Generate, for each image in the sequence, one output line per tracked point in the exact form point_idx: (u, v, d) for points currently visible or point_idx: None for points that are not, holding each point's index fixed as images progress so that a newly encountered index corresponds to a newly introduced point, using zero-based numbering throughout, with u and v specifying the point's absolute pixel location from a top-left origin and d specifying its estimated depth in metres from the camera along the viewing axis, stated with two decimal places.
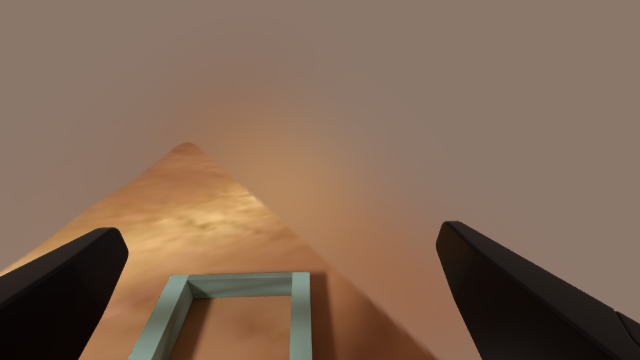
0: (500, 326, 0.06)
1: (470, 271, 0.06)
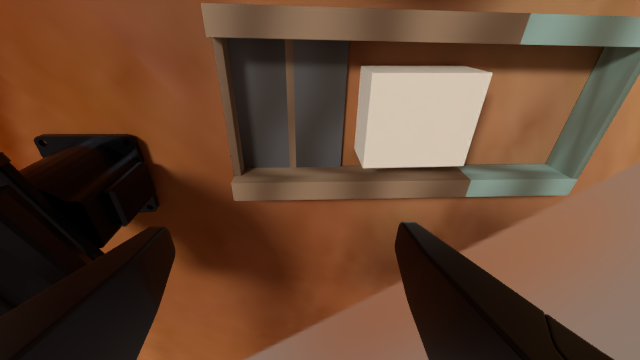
0: (442, 329, 0.06)
1: (419, 273, 0.06)
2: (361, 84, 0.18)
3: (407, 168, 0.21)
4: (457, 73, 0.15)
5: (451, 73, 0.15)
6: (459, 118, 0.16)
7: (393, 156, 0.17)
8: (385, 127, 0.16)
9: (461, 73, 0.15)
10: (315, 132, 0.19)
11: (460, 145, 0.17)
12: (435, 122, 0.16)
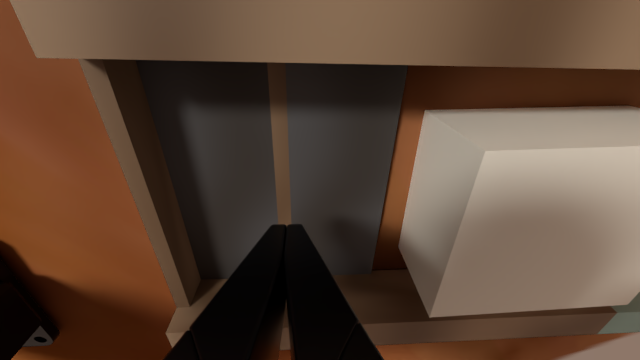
0: (290, 336, 0.05)
1: (285, 277, 0.06)
2: (426, 148, 0.09)
3: None
4: None
5: None
6: None
7: (496, 297, 0.08)
8: (490, 254, 0.07)
9: None
10: (329, 225, 0.10)
11: (636, 275, 0.08)
12: (602, 240, 0.07)
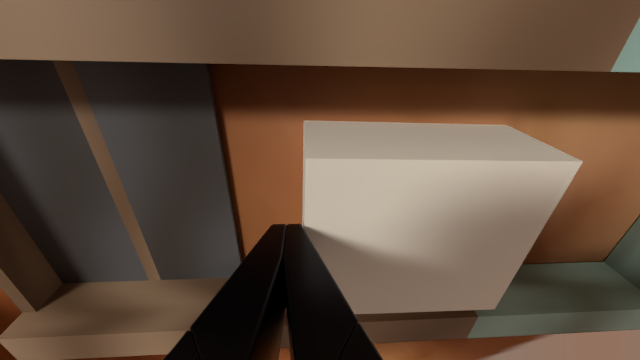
0: (289, 336, 0.05)
1: (284, 277, 0.06)
2: (303, 154, 0.09)
3: None
4: (504, 161, 0.07)
5: (490, 161, 0.07)
6: (497, 241, 0.08)
7: (362, 298, 0.09)
8: (343, 256, 0.08)
9: (513, 161, 0.07)
10: (180, 227, 0.10)
11: (493, 281, 0.09)
12: (448, 247, 0.08)
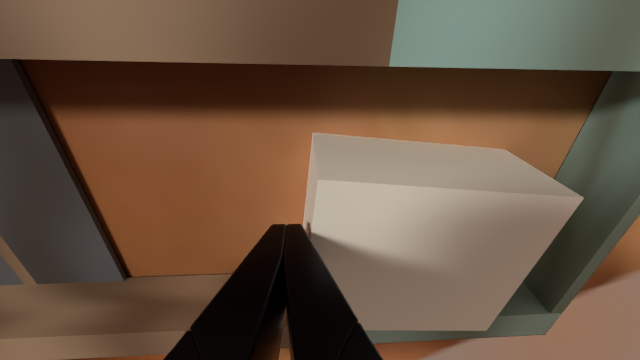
0: (290, 336, 0.05)
1: (285, 277, 0.06)
2: (310, 168, 0.09)
3: None
4: (510, 193, 0.07)
5: (497, 192, 0.07)
6: (496, 267, 0.08)
7: (360, 315, 0.09)
8: (344, 274, 0.08)
9: (519, 194, 0.07)
10: (40, 230, 0.10)
11: (487, 304, 0.09)
12: (448, 271, 0.08)
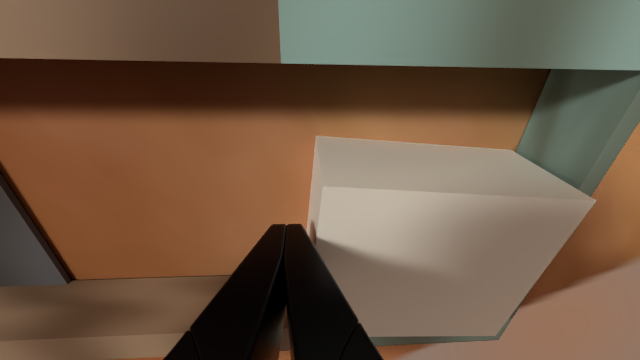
0: None
1: (285, 277, 0.06)
2: (313, 173, 0.09)
3: (195, 286, 0.11)
4: (520, 197, 0.07)
5: (507, 196, 0.07)
6: (506, 272, 0.08)
7: (366, 321, 0.09)
8: (351, 281, 0.08)
9: (529, 197, 0.07)
10: None
11: (497, 310, 0.09)
12: (456, 276, 0.08)
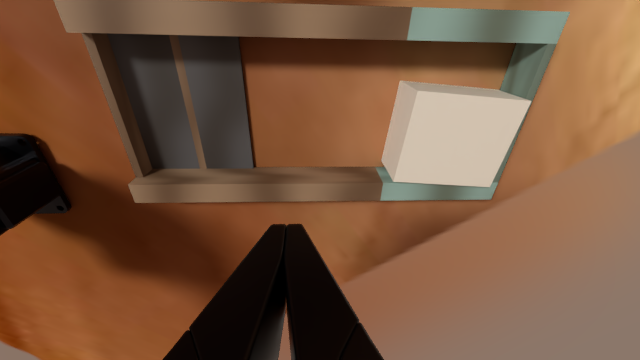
0: (290, 336, 0.05)
1: (285, 277, 0.06)
2: (399, 99, 0.18)
3: (323, 170, 0.20)
4: (498, 98, 0.16)
5: (492, 98, 0.15)
6: (493, 141, 0.17)
7: (425, 172, 0.18)
8: (421, 144, 0.17)
9: (502, 98, 0.16)
10: (220, 132, 0.19)
11: (490, 167, 0.18)
12: (470, 143, 0.17)
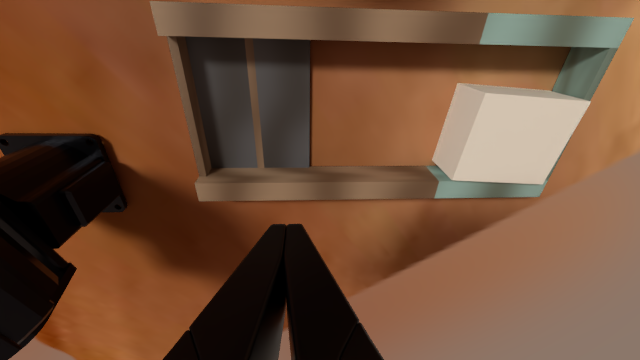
0: (290, 336, 0.05)
1: (285, 277, 0.06)
2: (456, 100, 0.19)
3: (377, 169, 0.21)
4: (560, 99, 0.16)
5: (554, 99, 0.16)
6: (551, 140, 0.18)
7: (483, 170, 0.18)
8: (482, 144, 0.17)
9: (563, 99, 0.16)
10: (281, 132, 0.19)
11: (545, 165, 0.19)
12: (529, 142, 0.18)
